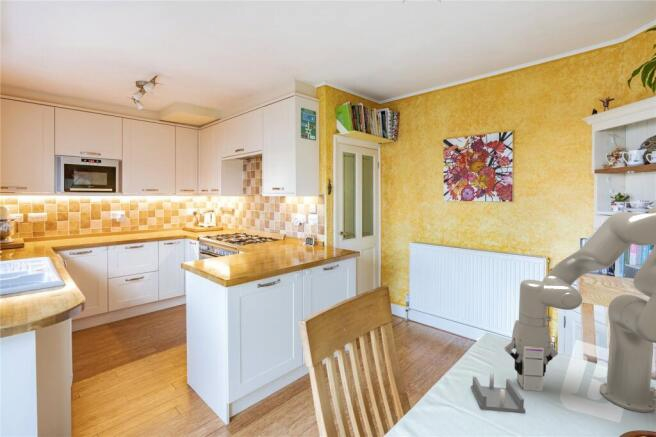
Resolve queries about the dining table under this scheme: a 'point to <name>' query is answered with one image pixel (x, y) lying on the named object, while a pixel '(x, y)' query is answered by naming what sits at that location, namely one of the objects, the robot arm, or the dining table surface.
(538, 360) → the syrup box
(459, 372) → the dining table surface
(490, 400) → the grey peg stand
